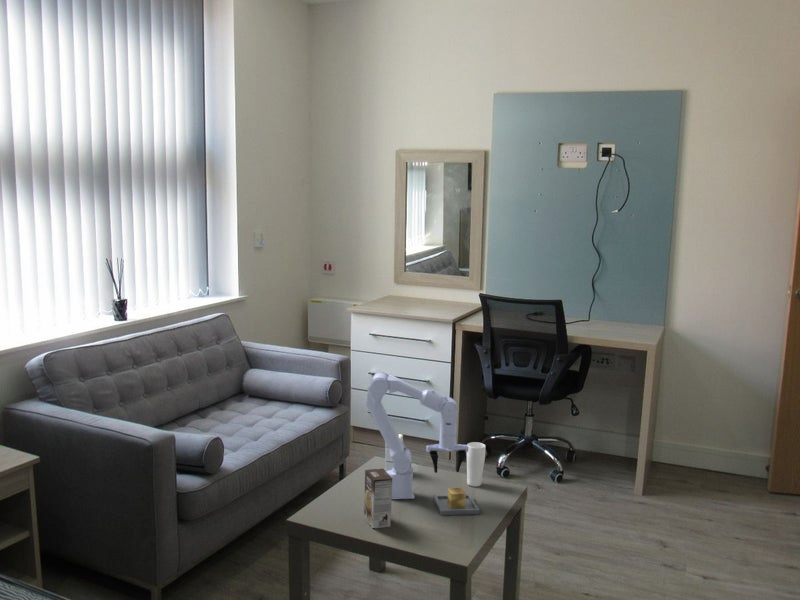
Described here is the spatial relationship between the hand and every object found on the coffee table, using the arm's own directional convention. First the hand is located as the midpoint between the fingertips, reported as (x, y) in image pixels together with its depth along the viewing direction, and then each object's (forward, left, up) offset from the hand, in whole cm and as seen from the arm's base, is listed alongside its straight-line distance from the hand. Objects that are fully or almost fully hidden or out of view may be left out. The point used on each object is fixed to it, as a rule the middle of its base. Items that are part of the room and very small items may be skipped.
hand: (446, 471), depth 249 cm
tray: (+2, -8, -9) cm, 13 cm away
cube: (+2, -8, -9) cm, 12 cm away
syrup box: (-15, +25, -10) cm, 31 cm away
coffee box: (-26, -18, -10) cm, 33 cm away
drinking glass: (+13, +11, -10) cm, 19 cm away
